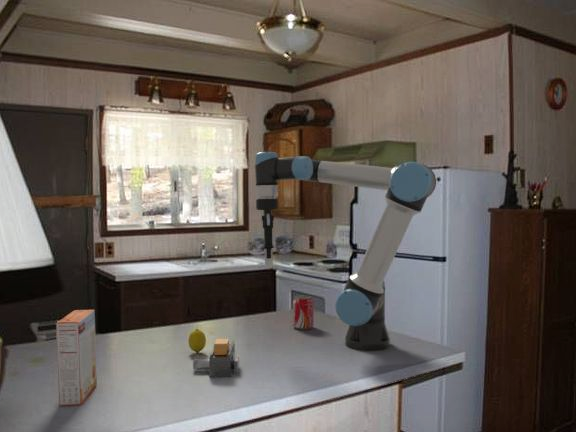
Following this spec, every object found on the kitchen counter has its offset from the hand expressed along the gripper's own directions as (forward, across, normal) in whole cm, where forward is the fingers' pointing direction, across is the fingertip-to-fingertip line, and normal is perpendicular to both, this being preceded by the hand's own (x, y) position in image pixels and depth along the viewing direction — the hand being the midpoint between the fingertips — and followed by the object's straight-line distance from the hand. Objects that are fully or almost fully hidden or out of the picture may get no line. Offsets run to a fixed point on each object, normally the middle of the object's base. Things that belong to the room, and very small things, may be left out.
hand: (268, 267), depth 180 cm
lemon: (+27, -6, +24) cm, 37 cm away
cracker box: (+26, -41, +51) cm, 71 cm away
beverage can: (+27, +24, -14) cm, 38 cm away
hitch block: (+27, -23, +15) cm, 38 cm away
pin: (+26, -24, +17) cm, 40 cm away
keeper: (+21, -25, +15) cm, 36 cm away
